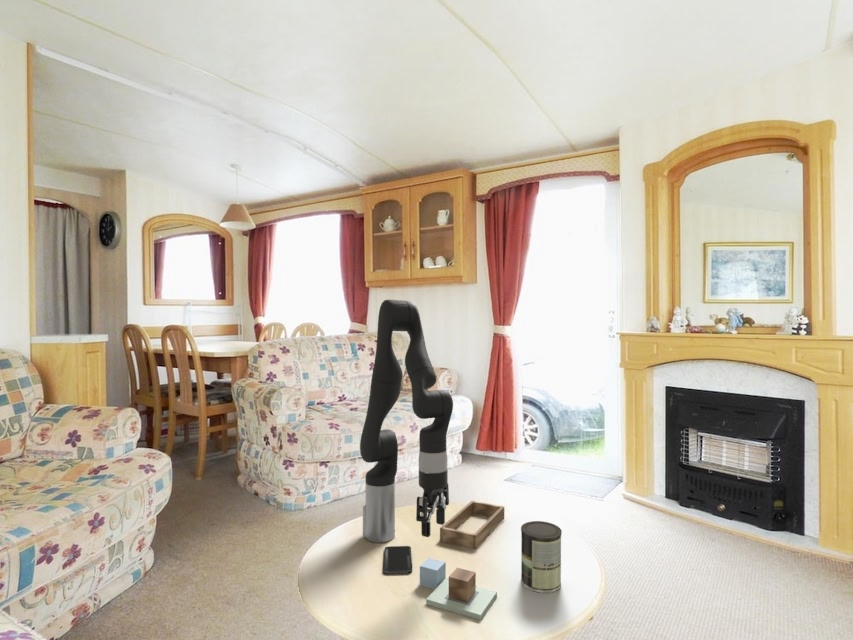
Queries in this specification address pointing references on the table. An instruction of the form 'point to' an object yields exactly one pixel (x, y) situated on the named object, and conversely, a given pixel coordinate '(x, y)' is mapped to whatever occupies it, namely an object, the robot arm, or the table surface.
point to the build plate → (471, 609)
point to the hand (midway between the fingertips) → (433, 529)
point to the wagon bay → (461, 537)
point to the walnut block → (462, 584)
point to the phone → (397, 560)
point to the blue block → (432, 573)
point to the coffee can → (541, 556)
